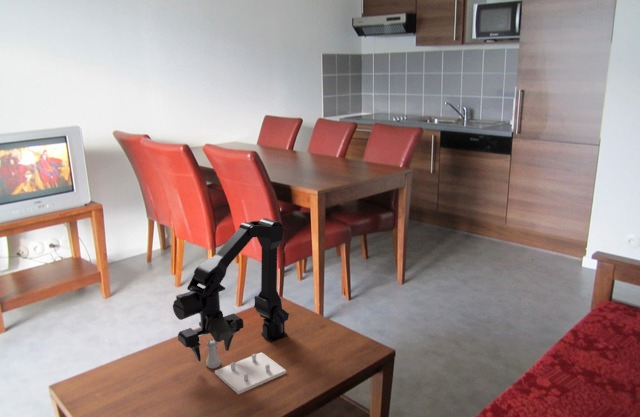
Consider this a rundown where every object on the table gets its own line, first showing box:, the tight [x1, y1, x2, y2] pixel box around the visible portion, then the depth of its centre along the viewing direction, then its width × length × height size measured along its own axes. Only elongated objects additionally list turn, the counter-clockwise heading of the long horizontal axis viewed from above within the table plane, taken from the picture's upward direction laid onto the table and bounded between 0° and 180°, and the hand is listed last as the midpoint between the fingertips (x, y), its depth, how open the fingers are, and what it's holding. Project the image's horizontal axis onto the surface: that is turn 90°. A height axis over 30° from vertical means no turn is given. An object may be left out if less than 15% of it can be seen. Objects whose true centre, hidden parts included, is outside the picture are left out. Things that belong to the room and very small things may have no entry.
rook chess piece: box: [205, 338, 222, 369], centre depth 160 cm, size 4×4×8 cm
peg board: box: [214, 352, 287, 395], centre depth 157 cm, size 16×13×3 cm
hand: (213, 355), depth 161 cm, fingers open, 9 cm apart
